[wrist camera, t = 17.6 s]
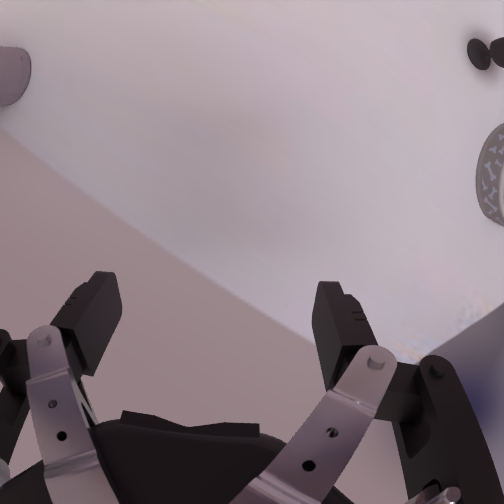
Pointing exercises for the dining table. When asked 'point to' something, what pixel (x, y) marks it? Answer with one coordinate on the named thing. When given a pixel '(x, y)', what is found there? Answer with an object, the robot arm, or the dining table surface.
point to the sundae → (486, 53)
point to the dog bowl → (492, 176)
